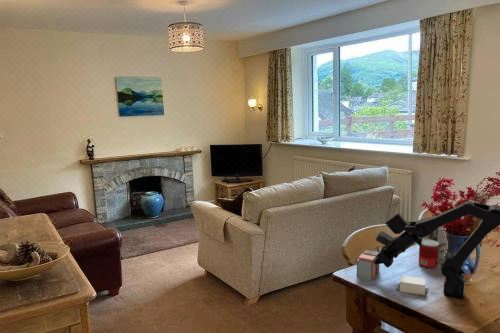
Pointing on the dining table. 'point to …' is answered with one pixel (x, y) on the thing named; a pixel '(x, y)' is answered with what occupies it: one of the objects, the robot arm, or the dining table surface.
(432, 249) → the canned food
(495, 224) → the robot arm
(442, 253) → the coffee box
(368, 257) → the salmon pink block
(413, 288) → the cream rectangular block
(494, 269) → the dining table surface
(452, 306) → the dining table surface
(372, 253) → the walnut plug
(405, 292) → the rubber mat
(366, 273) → the socket block
